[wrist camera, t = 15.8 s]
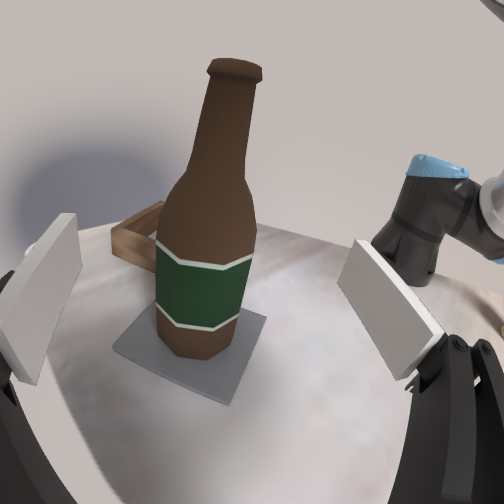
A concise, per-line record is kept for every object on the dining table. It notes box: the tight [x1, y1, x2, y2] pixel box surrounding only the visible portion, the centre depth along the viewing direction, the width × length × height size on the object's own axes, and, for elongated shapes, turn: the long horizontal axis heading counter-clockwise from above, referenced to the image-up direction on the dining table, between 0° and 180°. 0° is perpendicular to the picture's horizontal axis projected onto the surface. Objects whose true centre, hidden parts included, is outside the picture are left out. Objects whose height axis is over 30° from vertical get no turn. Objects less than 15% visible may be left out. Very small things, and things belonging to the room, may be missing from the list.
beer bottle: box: [156, 58, 262, 361], centre depth 21 cm, size 8×8×24 cm
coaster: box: [113, 299, 267, 406], centre depth 27 cm, size 12×12×1 cm
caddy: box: [111, 201, 165, 273], centre depth 39 cm, size 12×12×4 cm
